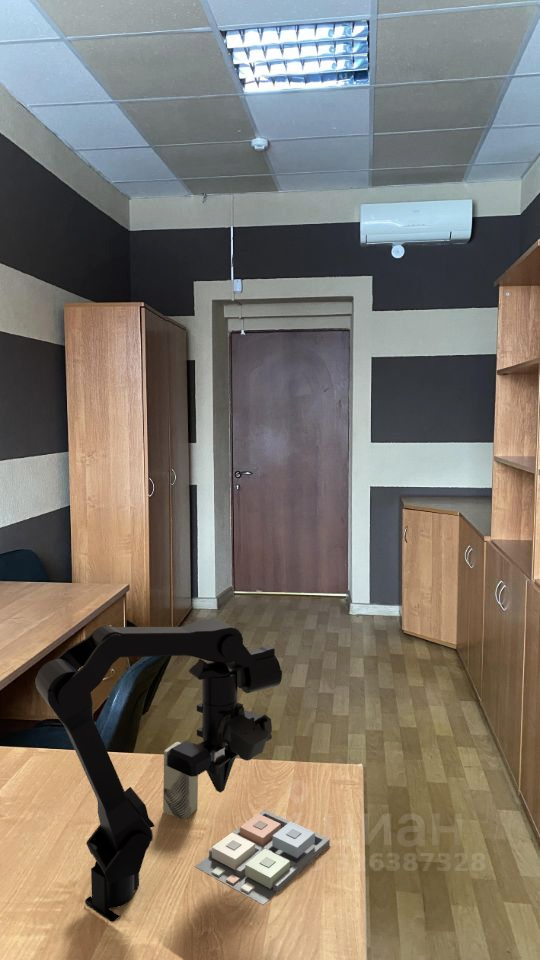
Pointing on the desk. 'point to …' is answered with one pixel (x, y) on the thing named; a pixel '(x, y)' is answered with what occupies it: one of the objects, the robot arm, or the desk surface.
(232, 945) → the desk surface
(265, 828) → the key terracotta
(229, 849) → the key ivory
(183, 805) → the box
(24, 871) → the desk surface
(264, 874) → the key sage
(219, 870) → the grey compartment tray
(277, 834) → the key slate
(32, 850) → the desk surface
